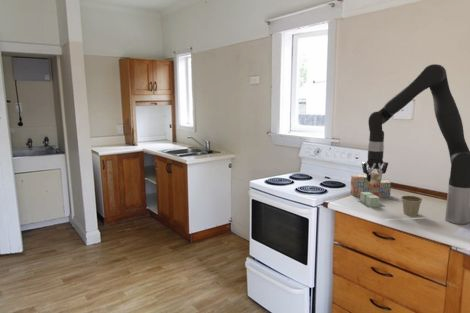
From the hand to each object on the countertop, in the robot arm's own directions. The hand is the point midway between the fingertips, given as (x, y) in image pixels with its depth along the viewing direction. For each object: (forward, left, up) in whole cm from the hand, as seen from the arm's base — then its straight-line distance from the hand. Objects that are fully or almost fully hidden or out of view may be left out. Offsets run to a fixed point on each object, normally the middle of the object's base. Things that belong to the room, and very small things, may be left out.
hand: (373, 181), depth 179 cm
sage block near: (0, 0, -13) cm, 13 cm away
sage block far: (0, -6, -13) cm, 15 cm away
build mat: (-1, -3, -14) cm, 14 cm away
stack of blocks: (-9, -19, -14) cm, 26 cm away
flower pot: (-12, +15, -14) cm, 24 cm away
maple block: (0, 0, -1) cm, 1 cm away
